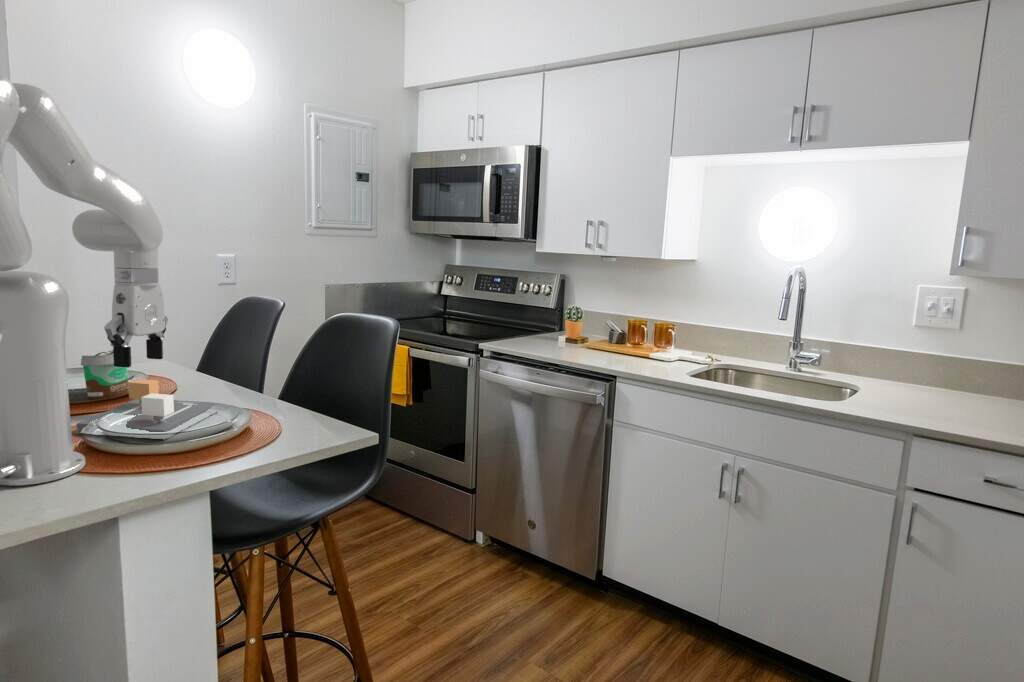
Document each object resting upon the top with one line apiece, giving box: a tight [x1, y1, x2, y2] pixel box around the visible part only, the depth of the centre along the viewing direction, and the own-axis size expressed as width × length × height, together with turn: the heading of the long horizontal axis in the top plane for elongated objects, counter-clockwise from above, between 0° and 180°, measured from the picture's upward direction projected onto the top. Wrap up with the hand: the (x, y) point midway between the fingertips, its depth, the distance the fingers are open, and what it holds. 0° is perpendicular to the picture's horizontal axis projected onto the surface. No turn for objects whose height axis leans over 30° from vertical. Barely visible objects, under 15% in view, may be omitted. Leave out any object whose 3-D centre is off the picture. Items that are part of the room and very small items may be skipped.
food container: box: [80, 349, 129, 401], centre depth 144 cm, size 12×6×10 cm, turn 179°
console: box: [76, 399, 218, 435], centre depth 128 cm, size 18×17×2 cm
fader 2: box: [141, 393, 175, 421], centre depth 122 cm, size 3×4×5 cm
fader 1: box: [127, 378, 160, 404], centre depth 132 cm, size 3×4×5 cm
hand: (139, 362), depth 129 cm, fingers open, 9 cm apart
